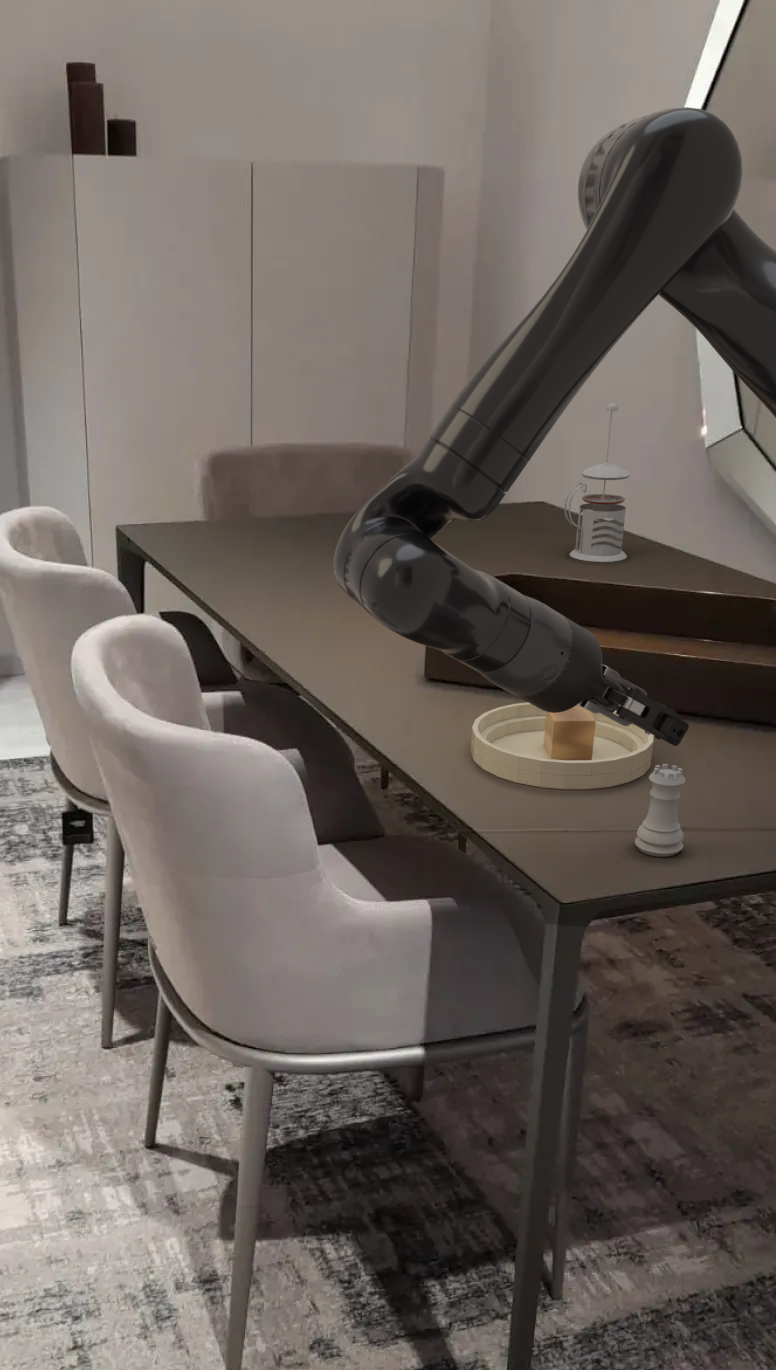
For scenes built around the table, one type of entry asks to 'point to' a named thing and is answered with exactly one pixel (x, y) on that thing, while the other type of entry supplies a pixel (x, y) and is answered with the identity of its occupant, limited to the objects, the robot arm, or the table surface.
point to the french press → (600, 514)
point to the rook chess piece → (662, 814)
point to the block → (570, 734)
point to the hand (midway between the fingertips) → (647, 718)
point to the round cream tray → (518, 754)
